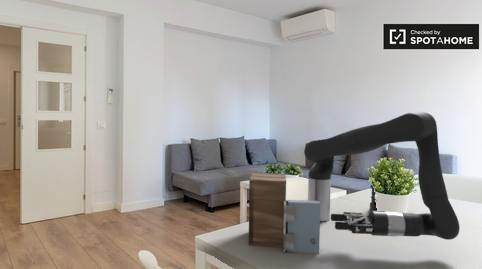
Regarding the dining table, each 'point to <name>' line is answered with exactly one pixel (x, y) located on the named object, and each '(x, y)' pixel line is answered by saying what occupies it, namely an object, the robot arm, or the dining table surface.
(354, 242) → the dining table surface
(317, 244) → the door
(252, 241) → the cabinet
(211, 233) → the dining table surface
